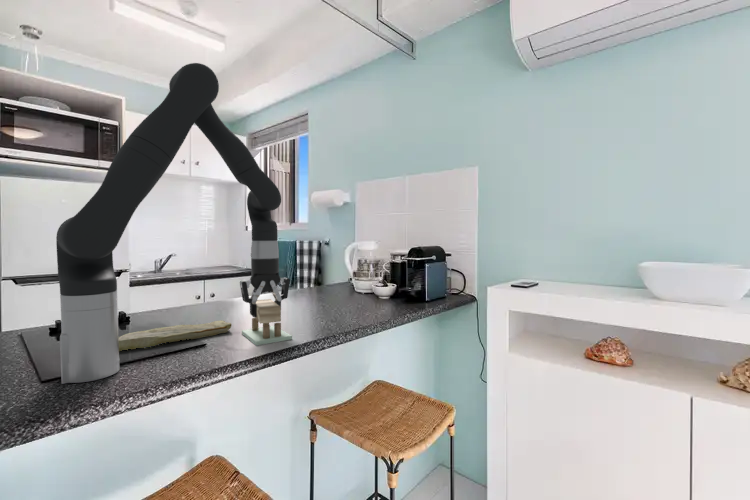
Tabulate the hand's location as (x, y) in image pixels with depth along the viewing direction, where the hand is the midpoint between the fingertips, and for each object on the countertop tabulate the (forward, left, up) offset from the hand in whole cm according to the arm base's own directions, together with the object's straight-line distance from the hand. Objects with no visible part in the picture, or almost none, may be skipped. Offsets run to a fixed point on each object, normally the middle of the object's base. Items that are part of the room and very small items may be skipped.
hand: (265, 315), depth 104 cm
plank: (0, 0, -1) cm, 1 cm away
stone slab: (-22, +14, -7) cm, 27 cm away
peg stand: (0, 0, -6) cm, 6 cm away
